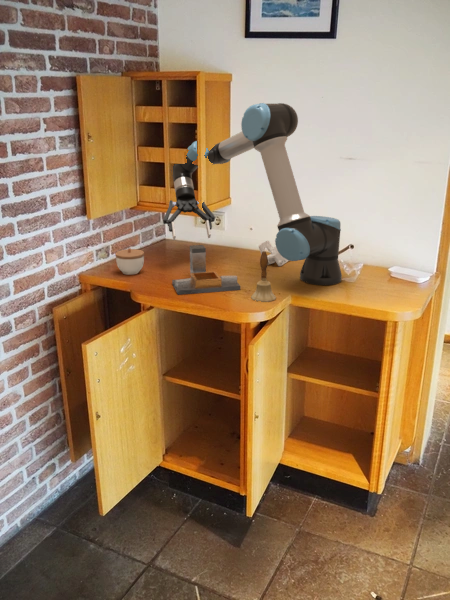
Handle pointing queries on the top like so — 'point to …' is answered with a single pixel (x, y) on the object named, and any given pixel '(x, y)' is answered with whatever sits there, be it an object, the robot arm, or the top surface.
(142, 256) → the lidded jar
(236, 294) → the top surface
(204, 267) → the block
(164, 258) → the top surface
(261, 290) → the hand bell
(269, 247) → the mounting bracket
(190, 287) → the base
